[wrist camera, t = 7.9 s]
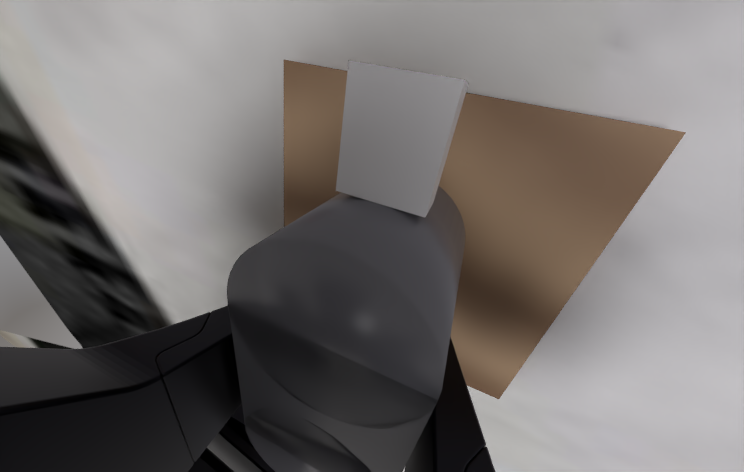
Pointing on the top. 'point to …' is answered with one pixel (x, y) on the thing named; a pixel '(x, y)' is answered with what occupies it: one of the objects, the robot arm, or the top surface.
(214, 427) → the robot arm
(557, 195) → the board
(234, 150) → the top surface
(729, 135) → the top surface
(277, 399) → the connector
